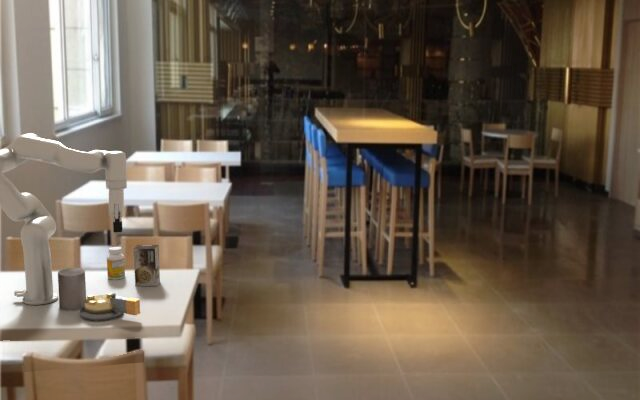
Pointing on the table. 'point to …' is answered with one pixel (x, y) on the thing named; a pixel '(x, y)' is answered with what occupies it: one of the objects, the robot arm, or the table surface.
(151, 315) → the table surface
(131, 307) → the gold disc lever
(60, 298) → the pillar candle
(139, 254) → the coffee box
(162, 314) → the table surface
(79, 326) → the table surface
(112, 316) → the base plate
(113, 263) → the supplement bottle
